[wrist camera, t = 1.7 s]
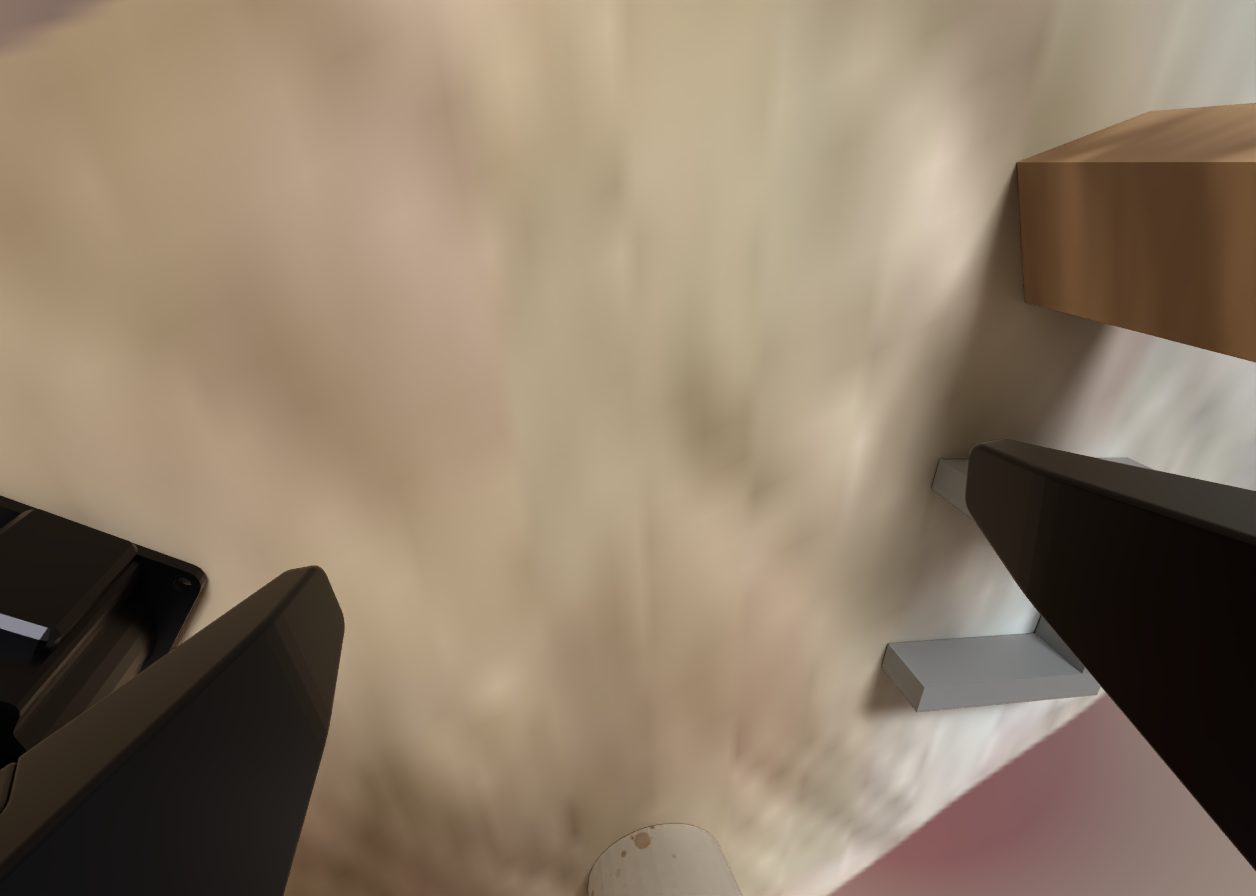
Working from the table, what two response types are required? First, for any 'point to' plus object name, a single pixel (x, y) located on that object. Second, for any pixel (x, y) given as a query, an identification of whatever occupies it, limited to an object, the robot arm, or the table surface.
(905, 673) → the u-shaped bracket
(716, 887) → the coffee cup
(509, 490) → the table surface
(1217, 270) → the wooden block
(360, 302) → the table surface
